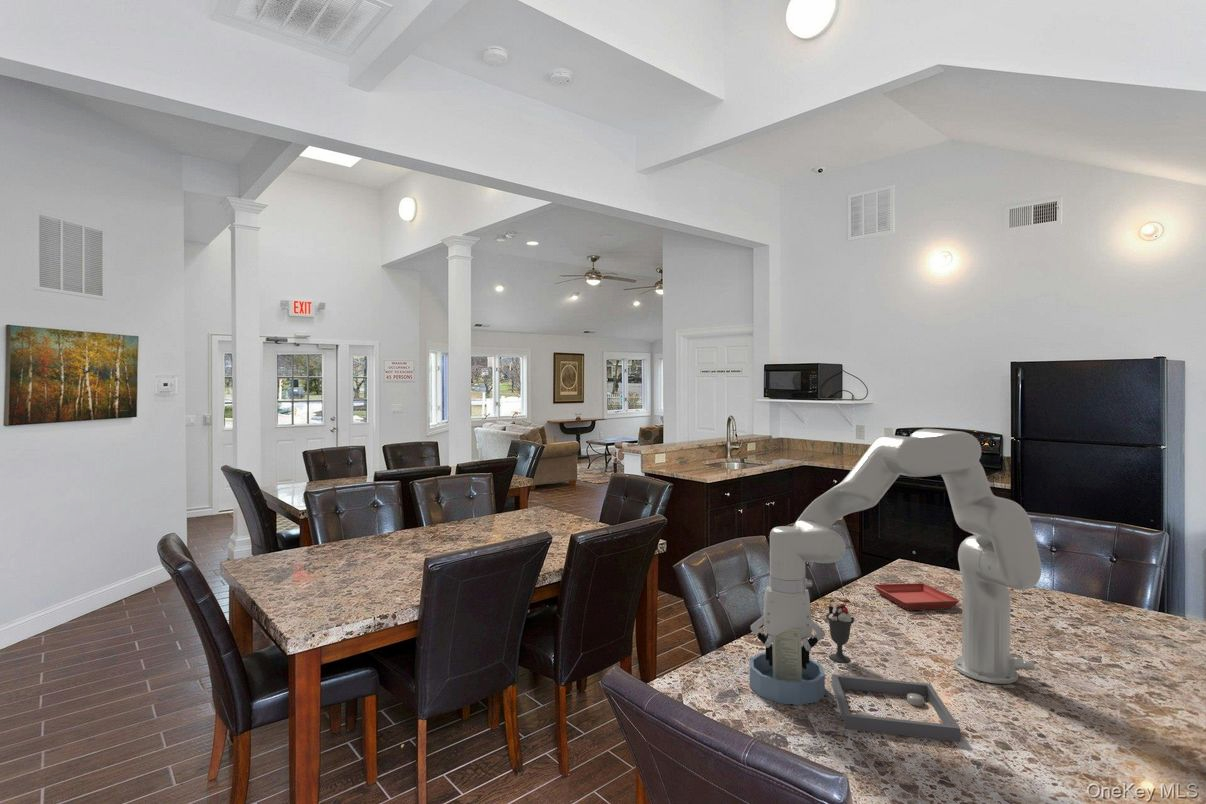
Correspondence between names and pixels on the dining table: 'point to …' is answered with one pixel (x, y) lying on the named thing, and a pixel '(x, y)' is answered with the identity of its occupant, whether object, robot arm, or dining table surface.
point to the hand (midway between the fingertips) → (787, 664)
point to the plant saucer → (916, 596)
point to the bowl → (787, 683)
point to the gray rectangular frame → (890, 725)
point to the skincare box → (787, 655)
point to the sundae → (839, 630)
